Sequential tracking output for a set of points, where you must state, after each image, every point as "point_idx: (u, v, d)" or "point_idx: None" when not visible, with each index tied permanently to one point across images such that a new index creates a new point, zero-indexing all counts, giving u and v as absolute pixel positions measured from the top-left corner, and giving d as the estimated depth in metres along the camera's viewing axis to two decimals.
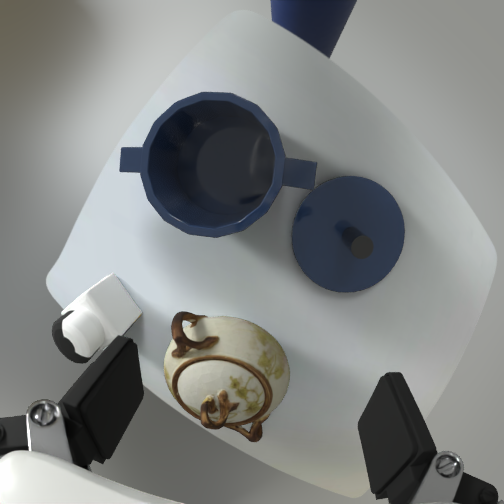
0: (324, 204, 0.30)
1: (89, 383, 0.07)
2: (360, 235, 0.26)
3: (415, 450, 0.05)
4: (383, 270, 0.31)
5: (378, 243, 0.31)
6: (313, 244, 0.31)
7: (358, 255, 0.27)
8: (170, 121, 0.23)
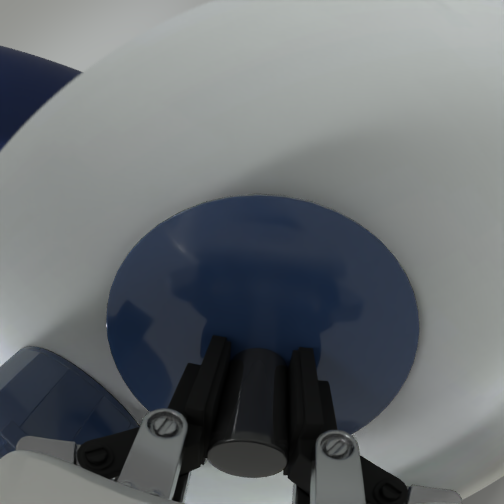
0: (154, 377, 0.12)
1: (206, 384, 0.08)
2: (209, 445, 0.07)
3: (302, 422, 0.07)
4: (402, 329, 0.10)
5: (322, 317, 0.10)
6: None
7: (264, 473, 0.07)
8: None
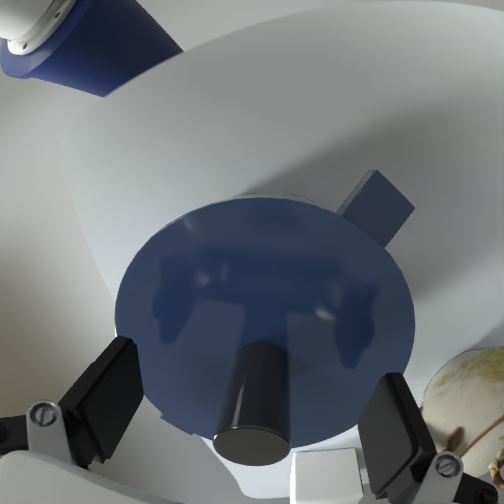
0: (160, 372, 0.12)
1: (89, 383, 0.07)
2: (215, 433, 0.07)
3: (415, 450, 0.05)
4: (398, 324, 0.10)
5: (322, 312, 0.10)
6: None
7: (267, 461, 0.07)
8: None
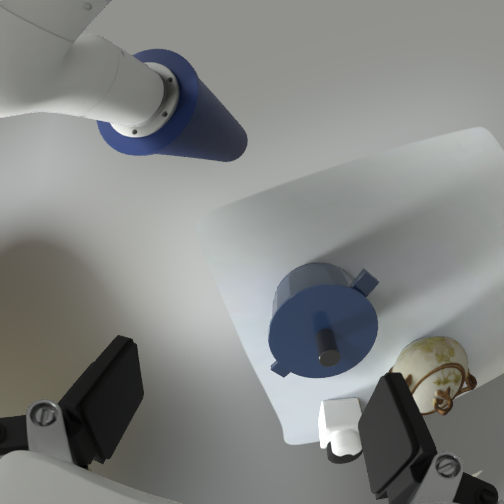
0: (285, 344, 0.33)
1: (89, 383, 0.07)
2: (319, 355, 0.28)
3: (415, 450, 0.05)
4: (371, 322, 0.31)
5: (346, 318, 0.31)
6: (310, 364, 0.34)
7: (333, 363, 0.28)
8: None
